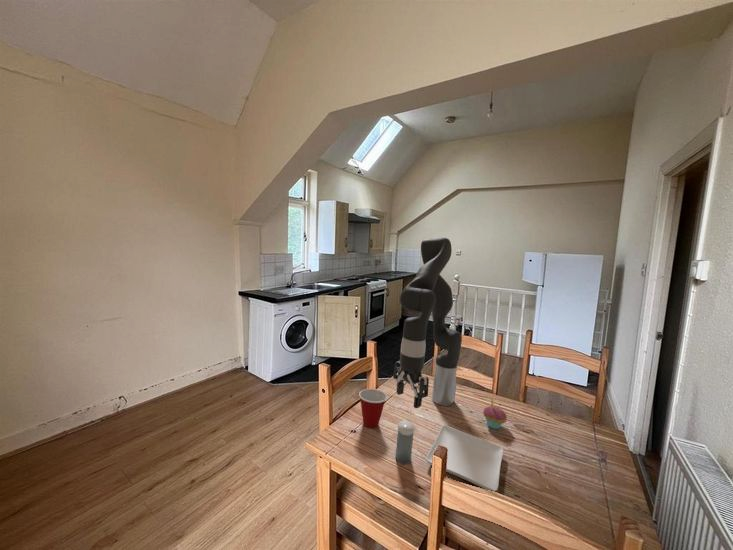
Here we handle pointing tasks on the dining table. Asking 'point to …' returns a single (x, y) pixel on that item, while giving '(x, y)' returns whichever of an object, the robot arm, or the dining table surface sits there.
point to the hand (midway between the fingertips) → (408, 400)
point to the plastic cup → (372, 406)
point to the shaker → (404, 442)
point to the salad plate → (470, 457)
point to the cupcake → (494, 416)
